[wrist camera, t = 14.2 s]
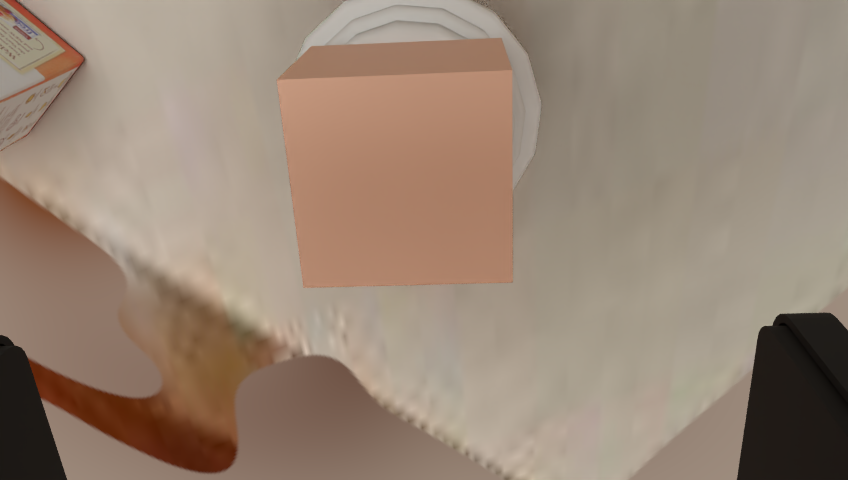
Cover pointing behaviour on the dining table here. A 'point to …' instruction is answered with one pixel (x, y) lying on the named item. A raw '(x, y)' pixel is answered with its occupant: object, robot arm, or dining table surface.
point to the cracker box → (29, 70)
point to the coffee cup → (435, 21)
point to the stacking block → (401, 162)
